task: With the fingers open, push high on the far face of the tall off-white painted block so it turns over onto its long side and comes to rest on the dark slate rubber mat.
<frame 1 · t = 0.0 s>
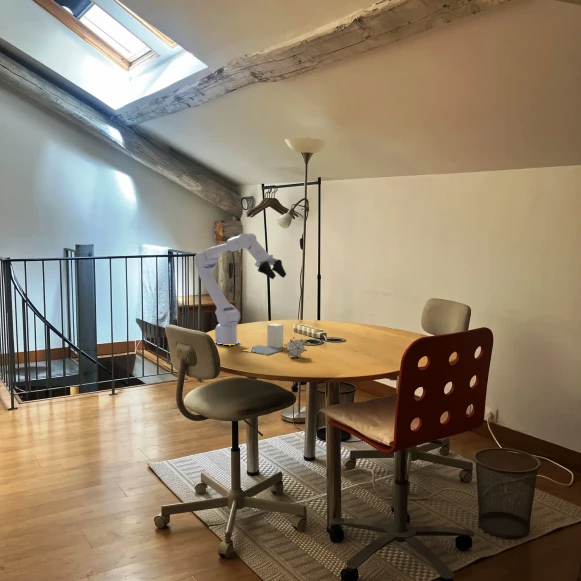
hand: (279, 276, 257), 32 cm above the table, tool tilted 50°, fingers open, 7 cm apart
game die: (295, 357, 252), on the table
slate mat: (263, 350, 264), on the table
tall block: (275, 346, 271), on the table
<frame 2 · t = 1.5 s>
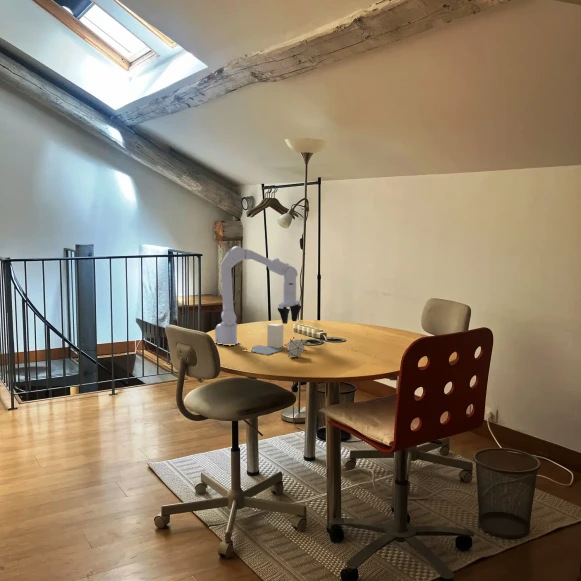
hand: (289, 322, 279), 9 cm above the table, tool pointing down, fingers open, 7 cm apart
nothing on the table moved.
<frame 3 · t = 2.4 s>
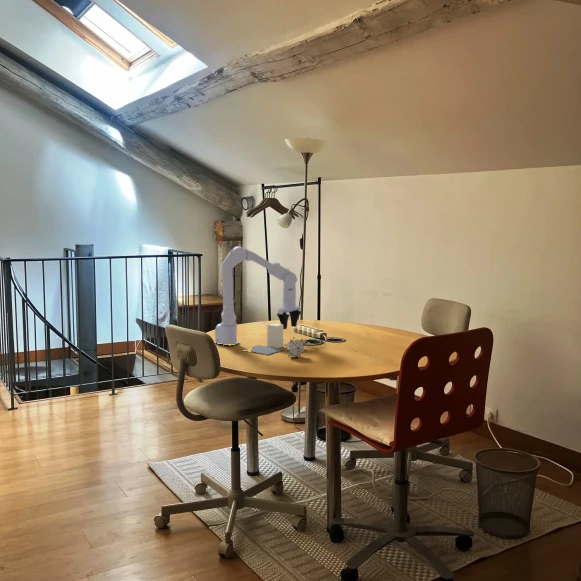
hand: (289, 327, 279), 7 cm above the table, tool pointing down, fingers open, 7 cm apart
nothing on the table moved.
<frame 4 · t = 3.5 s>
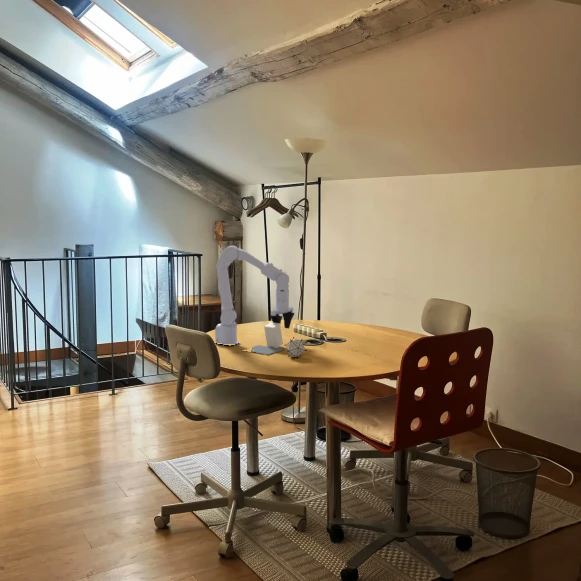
hand: (282, 329, 275), 7 cm above the table, tool pointing down, fingers open, 7 cm apart
tall block: (275, 345, 271), point 1 cm above the table, tilted 14°, touching gripper
everything else where it was.
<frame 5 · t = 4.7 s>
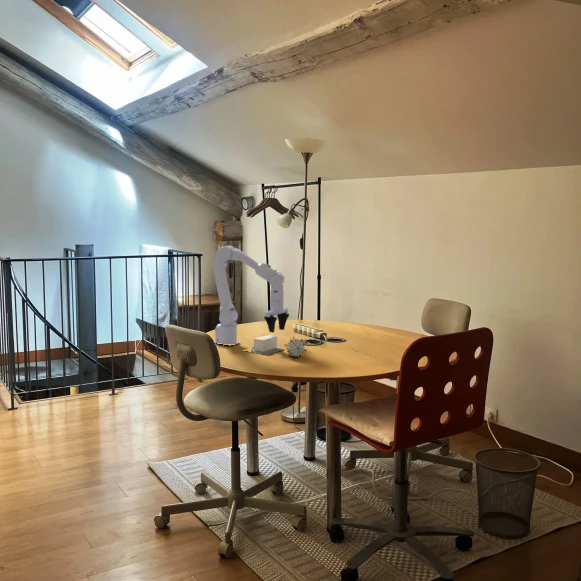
hand: (276, 330, 271), 7 cm above the table, tool pointing down, fingers open, 7 cm apart
tall block: (272, 341, 269), point 3 cm above the table, tilted 90°, touching slate mat
everything else where it was.
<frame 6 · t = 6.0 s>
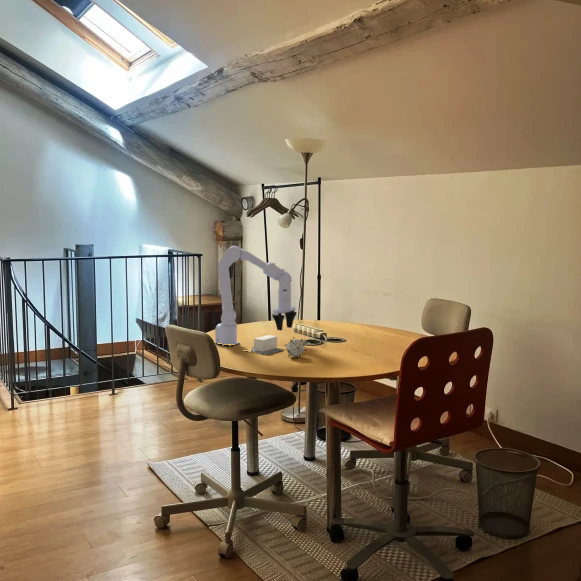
hand: (284, 328, 276), 7 cm above the table, tool pointing down, fingers open, 7 cm apart
nothing on the table moved.
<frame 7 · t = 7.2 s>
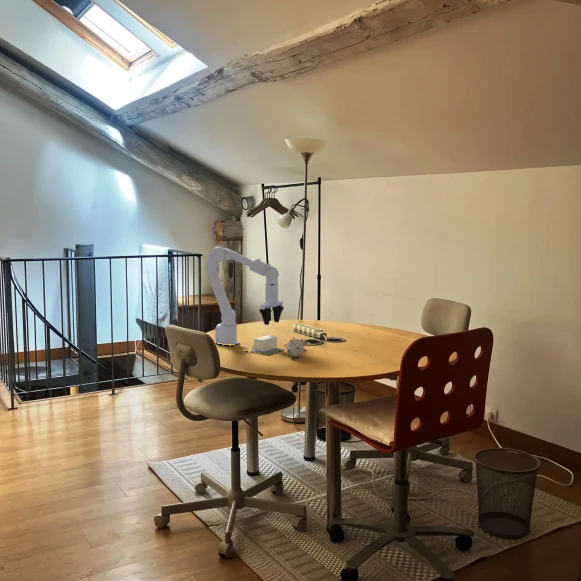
hand: (271, 323, 276), 9 cm above the table, tool pointing down, fingers open, 7 cm apart
nothing on the table moved.
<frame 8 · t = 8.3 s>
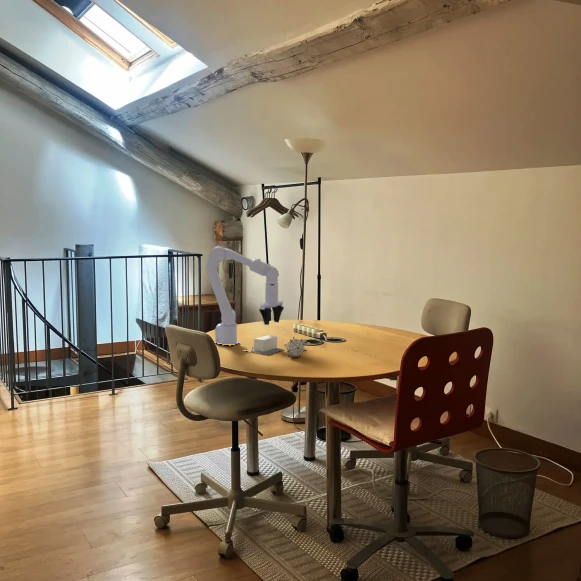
hand: (271, 323, 276), 9 cm above the table, tool pointing down, fingers open, 7 cm apart
nothing on the table moved.
at the end: tall block tilted 90°; tall block touching slate mat; tall block 6.8 cm from the slate mat (horizontally) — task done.
